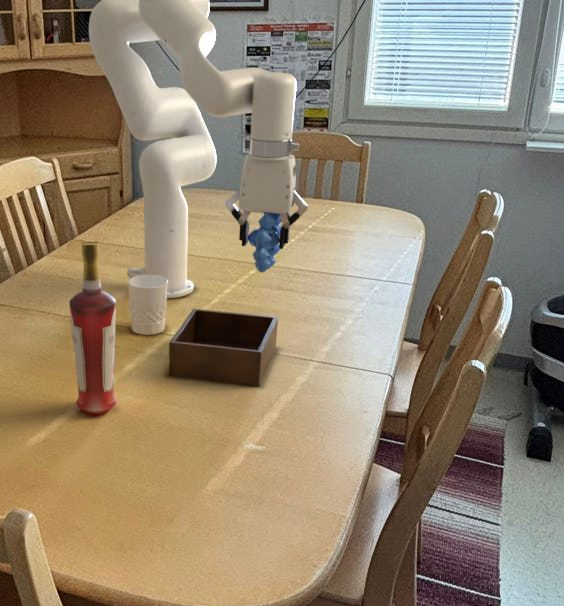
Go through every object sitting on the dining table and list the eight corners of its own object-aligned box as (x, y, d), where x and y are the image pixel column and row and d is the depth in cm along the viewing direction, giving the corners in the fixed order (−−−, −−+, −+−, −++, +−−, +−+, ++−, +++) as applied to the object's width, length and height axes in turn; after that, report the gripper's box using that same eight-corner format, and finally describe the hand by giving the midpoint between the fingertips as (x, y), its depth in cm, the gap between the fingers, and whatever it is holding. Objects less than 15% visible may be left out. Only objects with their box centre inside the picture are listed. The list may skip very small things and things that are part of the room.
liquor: (76, 399, 148) (68, 236, 133) (119, 399, 148) (115, 235, 133) (73, 418, 142) (63, 250, 127) (117, 418, 142) (113, 249, 127)
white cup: (173, 325, 176) (173, 277, 171) (158, 338, 171) (158, 289, 165) (138, 319, 179) (137, 272, 174) (122, 333, 173) (121, 284, 168)
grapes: (255, 258, 176) (259, 198, 169) (286, 262, 173) (292, 201, 166) (235, 275, 167) (239, 212, 160) (268, 279, 165) (273, 215, 158)
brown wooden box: (168, 375, 156) (169, 342, 152) (192, 340, 170) (193, 308, 166) (258, 386, 152) (261, 352, 148) (275, 349, 165) (278, 316, 162)
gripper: (320, 146, 158) (310, 243, 168) (228, 142, 163) (224, 237, 173) (314, 154, 152) (305, 254, 162) (219, 150, 157) (215, 248, 167)
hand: (263, 244), depth 167 cm, fingers closed on grapes, 6 cm apart
